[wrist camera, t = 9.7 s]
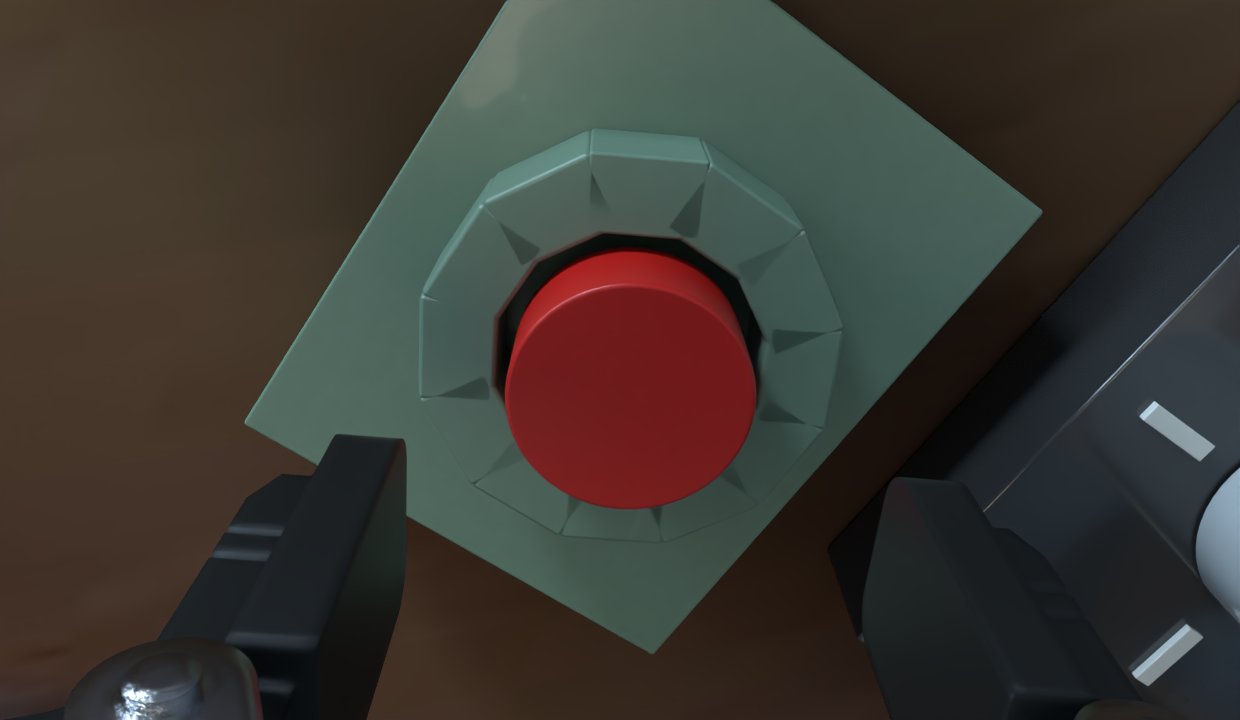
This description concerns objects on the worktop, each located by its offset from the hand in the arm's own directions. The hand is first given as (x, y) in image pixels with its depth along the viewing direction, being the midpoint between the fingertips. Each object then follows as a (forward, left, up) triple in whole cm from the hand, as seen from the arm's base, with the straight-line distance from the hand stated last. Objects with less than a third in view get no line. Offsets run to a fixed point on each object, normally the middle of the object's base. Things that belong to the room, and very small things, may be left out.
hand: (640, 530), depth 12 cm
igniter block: (0, 0, -9) cm, 9 cm away
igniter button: (0, 0, -5) cm, 5 cm away
